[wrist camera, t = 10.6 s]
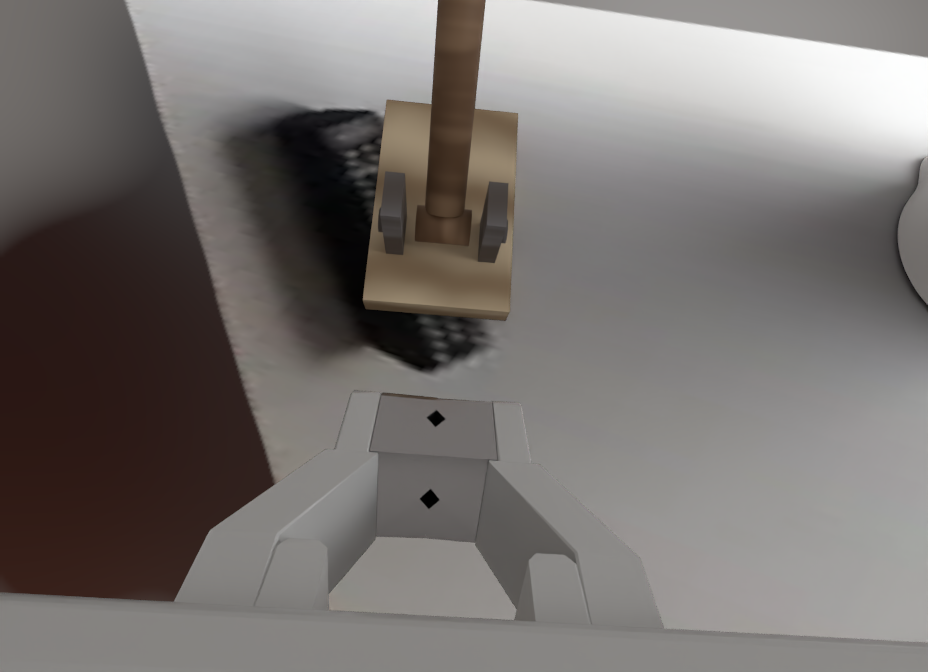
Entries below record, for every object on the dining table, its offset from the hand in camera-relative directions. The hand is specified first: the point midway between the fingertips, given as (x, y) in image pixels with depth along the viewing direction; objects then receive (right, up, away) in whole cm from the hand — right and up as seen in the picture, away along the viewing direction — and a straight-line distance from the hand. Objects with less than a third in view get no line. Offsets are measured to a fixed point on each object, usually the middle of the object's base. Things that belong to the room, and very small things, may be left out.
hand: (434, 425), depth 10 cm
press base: (-1, +11, +31) cm, 33 cm away
